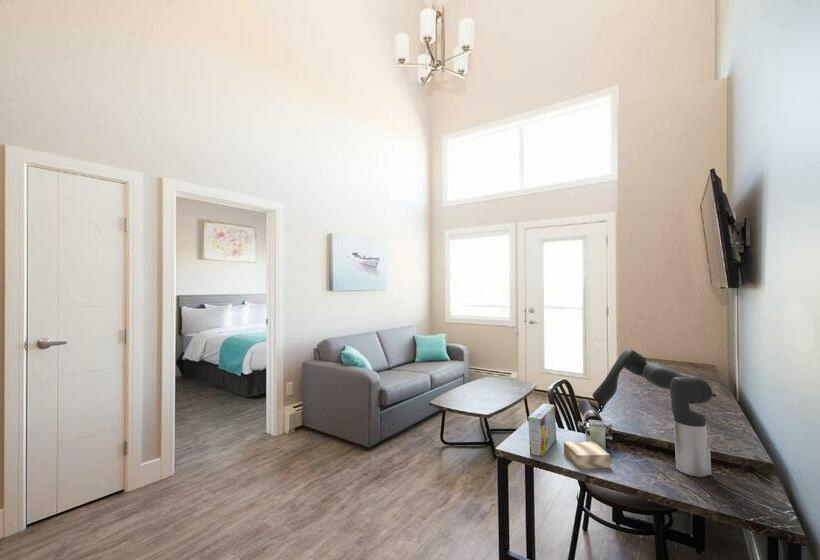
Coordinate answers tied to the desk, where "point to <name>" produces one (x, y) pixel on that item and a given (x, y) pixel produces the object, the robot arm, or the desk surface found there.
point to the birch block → (587, 455)
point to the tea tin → (597, 433)
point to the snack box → (542, 429)
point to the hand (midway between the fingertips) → (597, 434)
